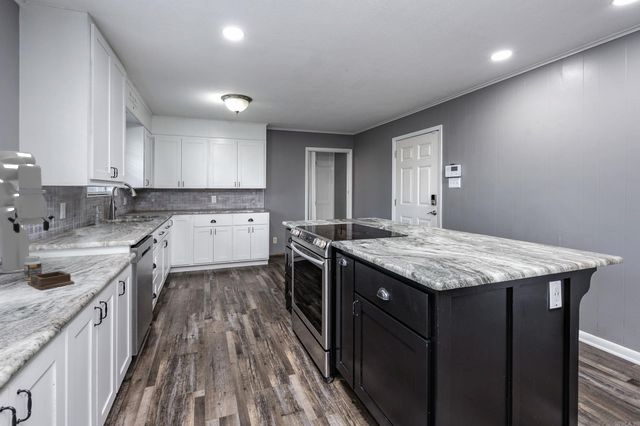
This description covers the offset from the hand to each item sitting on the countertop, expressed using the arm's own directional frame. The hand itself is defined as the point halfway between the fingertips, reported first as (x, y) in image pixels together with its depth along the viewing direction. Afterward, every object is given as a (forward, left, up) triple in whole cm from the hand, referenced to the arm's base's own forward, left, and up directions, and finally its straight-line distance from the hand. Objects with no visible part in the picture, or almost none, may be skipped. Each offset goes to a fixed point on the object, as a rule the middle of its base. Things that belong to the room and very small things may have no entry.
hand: (32, 231), depth 136 cm
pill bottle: (0, 0, -22) cm, 21 cm away
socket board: (+16, +1, -21) cm, 26 cm away
